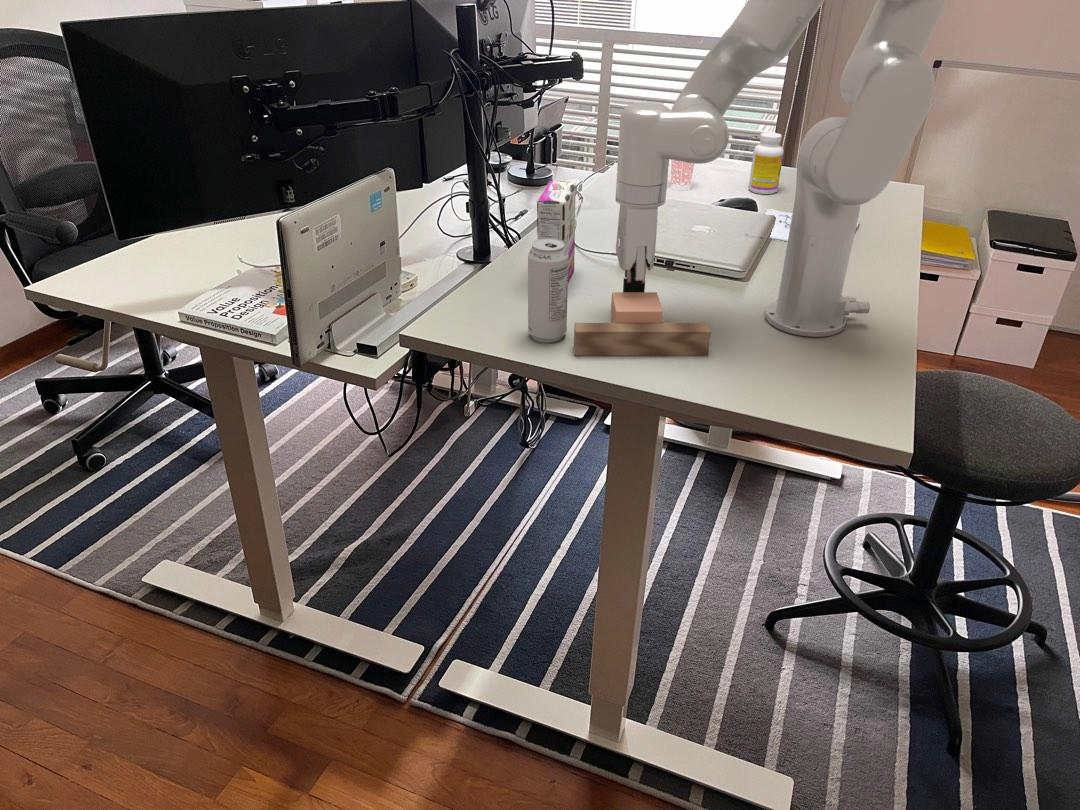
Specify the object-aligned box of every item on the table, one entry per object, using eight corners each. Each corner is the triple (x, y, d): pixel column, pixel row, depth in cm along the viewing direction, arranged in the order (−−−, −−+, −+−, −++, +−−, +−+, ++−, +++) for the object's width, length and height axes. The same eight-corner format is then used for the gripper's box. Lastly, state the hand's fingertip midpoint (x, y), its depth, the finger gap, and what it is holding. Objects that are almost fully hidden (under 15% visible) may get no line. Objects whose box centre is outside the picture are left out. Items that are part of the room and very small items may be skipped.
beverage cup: (694, 185, 197) (700, 124, 189) (692, 192, 192) (699, 130, 184) (668, 183, 198) (673, 122, 190) (665, 190, 193) (671, 129, 185)
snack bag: (843, 255, 160) (845, 245, 159) (741, 237, 168) (742, 227, 167) (860, 226, 175) (863, 216, 173) (766, 211, 183) (767, 201, 181)
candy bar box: (548, 268, 152) (549, 179, 144) (574, 270, 152) (577, 181, 143) (535, 292, 143) (535, 199, 135) (564, 295, 142) (566, 201, 134)
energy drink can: (544, 323, 133) (545, 234, 125) (574, 334, 130) (577, 243, 122) (520, 336, 129) (519, 244, 121) (550, 348, 126) (551, 254, 118)
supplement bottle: (780, 195, 190) (789, 138, 184) (751, 195, 190) (759, 138, 184) (773, 186, 196) (782, 131, 189) (745, 186, 196) (753, 130, 189)
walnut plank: (704, 346, 126) (707, 322, 124) (708, 355, 124) (711, 331, 122) (573, 346, 126) (574, 322, 124) (574, 355, 124) (575, 331, 122)
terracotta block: (653, 326, 132) (656, 292, 129) (659, 347, 126) (663, 311, 123) (610, 326, 132) (612, 292, 129) (614, 347, 126) (616, 311, 123)
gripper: (611, 176, 130) (605, 284, 140) (621, 207, 117) (614, 324, 127) (658, 176, 130) (649, 284, 140) (674, 207, 117) (663, 323, 127)
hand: (632, 303), depth 133 cm, fingers closed
